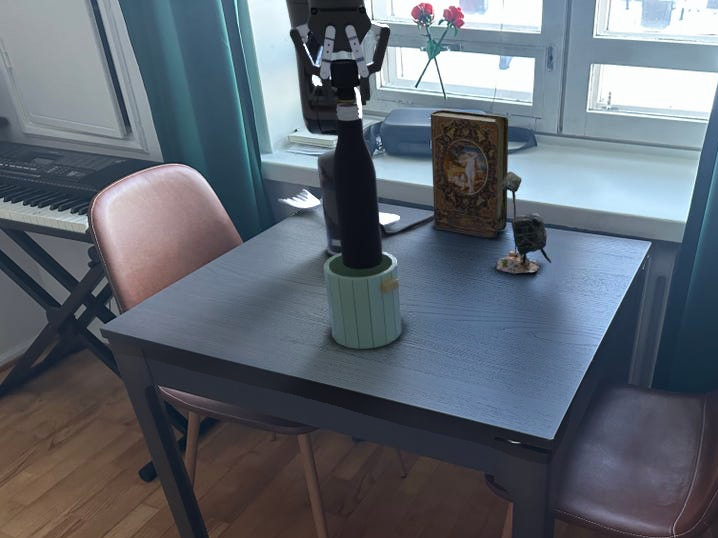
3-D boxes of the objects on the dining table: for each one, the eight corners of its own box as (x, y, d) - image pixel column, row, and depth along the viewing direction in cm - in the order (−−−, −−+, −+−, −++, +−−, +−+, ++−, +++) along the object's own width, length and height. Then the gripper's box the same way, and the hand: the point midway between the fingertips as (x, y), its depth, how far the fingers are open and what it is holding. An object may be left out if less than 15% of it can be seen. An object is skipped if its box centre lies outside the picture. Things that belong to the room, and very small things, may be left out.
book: (431, 227, 159) (426, 114, 146) (442, 219, 164) (438, 109, 150) (496, 239, 154) (498, 122, 140) (506, 230, 158) (509, 116, 145)
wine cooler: (363, 306, 126) (357, 242, 120) (420, 330, 119) (417, 263, 112) (313, 331, 119) (303, 264, 112) (371, 358, 111) (364, 288, 105)
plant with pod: (538, 282, 135) (543, 180, 124) (487, 270, 140) (488, 171, 129) (556, 267, 141) (562, 169, 130) (507, 256, 146) (509, 160, 135)
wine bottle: (375, 271, 109) (357, 65, 93) (336, 267, 110) (312, 64, 94) (388, 255, 114) (373, 57, 98) (351, 251, 116) (330, 56, 100)
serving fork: (304, 200, 175) (302, 187, 173) (407, 224, 161) (407, 210, 159) (278, 211, 169) (276, 197, 167) (383, 237, 154) (382, 222, 153)
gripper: (386, -36, 95) (394, 97, 104) (278, -34, 92) (296, 101, 101) (391, -33, 88) (400, 108, 98) (276, -31, 86) (295, 113, 95)
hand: (347, 104), depth 99 cm, fingers closed on wine bottle, 4 cm apart
